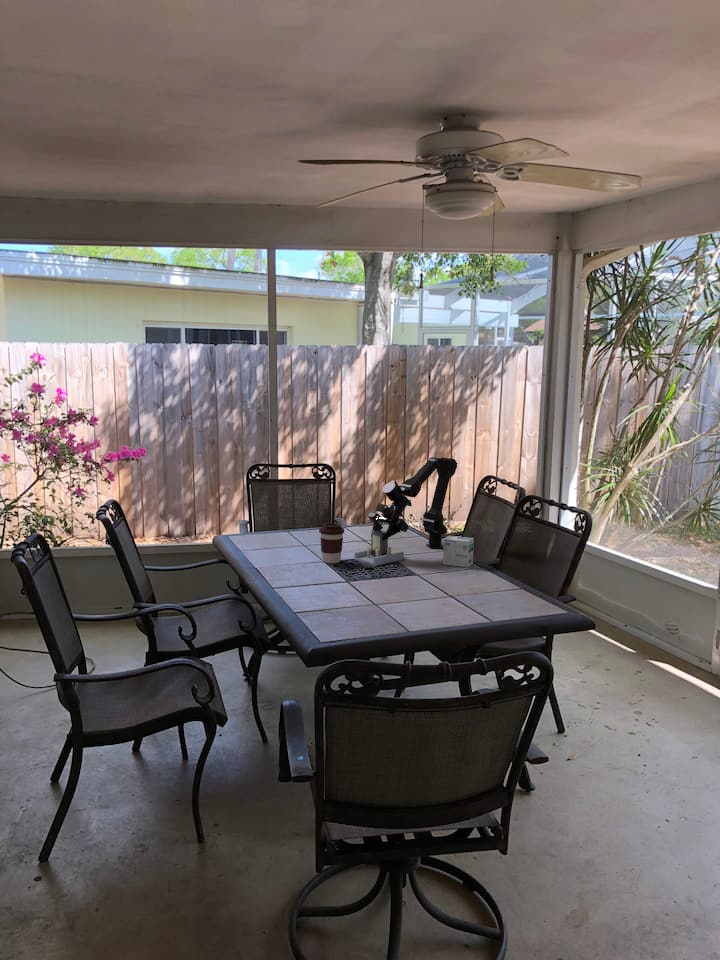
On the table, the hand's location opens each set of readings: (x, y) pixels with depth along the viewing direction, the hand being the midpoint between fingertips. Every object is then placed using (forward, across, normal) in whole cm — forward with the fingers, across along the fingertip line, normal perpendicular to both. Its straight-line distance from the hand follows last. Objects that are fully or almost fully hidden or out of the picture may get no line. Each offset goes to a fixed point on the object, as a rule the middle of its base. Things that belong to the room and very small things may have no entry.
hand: (377, 538), depth 305 cm
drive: (+4, 0, +6) cm, 8 cm away
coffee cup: (+18, -10, -5) cm, 21 cm away
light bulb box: (-8, +25, +21) cm, 34 cm away
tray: (+5, 0, +7) cm, 9 cm away
